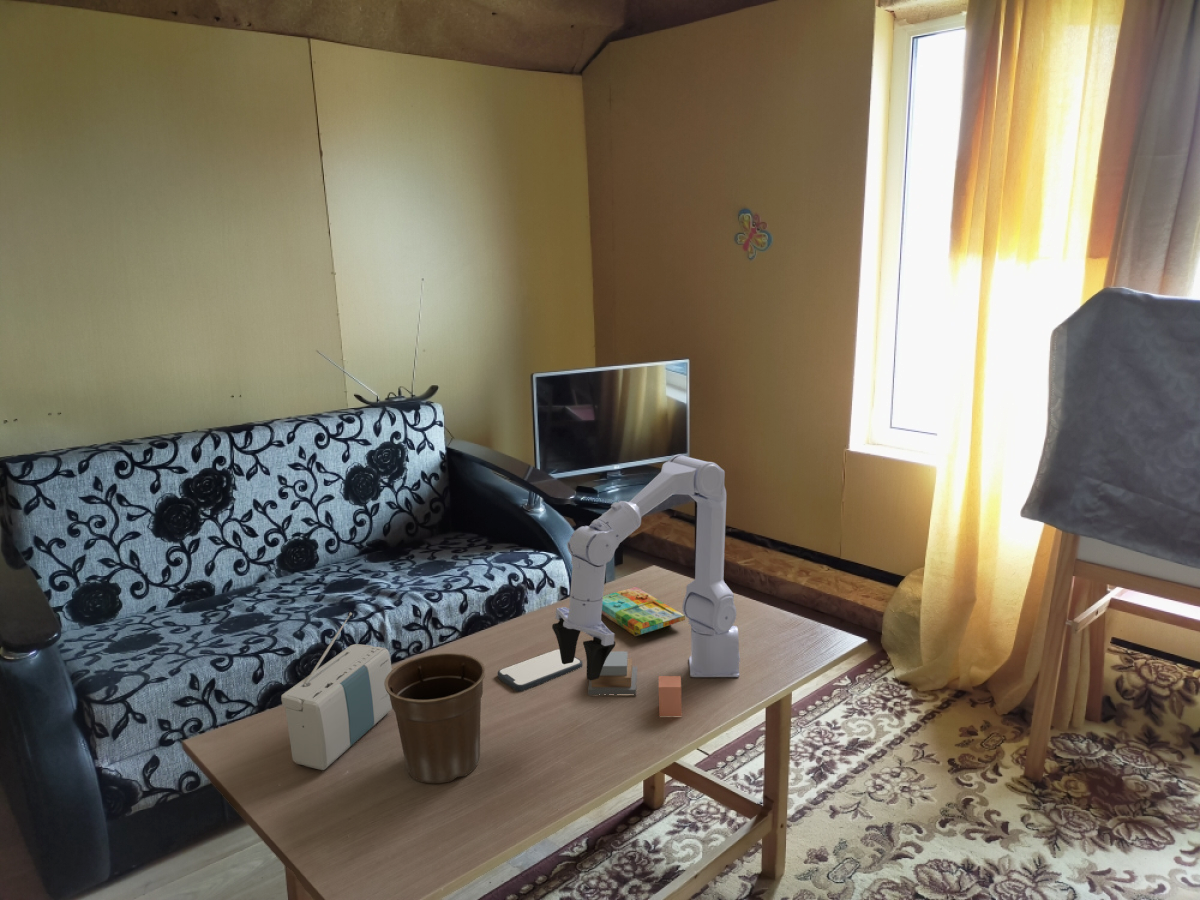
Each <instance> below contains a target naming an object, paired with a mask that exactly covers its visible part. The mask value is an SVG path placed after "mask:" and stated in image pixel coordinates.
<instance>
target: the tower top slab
mask: <svg viewBox="0 0 1200 900" xmlns="http://www.w3.org/2000/svg"><path fill="white" fill-rule="evenodd" d="M628 659H629V657H628V651H621V650H620V651H616V650H615V651H611V652H610V653H609V655H608V657H607V659H606V660H605V663H604V665H603V668H602V670H601V673H600V676H627V664H628Z"/></svg>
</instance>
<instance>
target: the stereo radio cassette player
mask: <svg viewBox="0 0 1200 900" xmlns="http://www.w3.org/2000/svg"><path fill="white" fill-rule="evenodd" d="M352 615H353V613H352V612H349V614H348V616H347V617H346V619H345V621H344V622H343V624H342V625H341V627H340V628H339V629H338V631H337V632H336V633H335V635H334V637H333V638H332V640H331V641H330V643H329V644H328V646H327V648H326V649H325V651H324V652H323V654H322V656H321V657H320V659H319V660H318V662H317V663H316V665H315V666H314V668H313V670H311V673H310V674H309V675H307V676H306V677H305V678H303V679H302V680H301V681H299V682H297V684H295V685H293V687H291V688H289V689H287V690H286V691H285V692H284V693H283V694H281V698H280V699H281V703H282V706H283V708H284V709H285V714H286V715H285V716H286V721H287V728H288V729H287V731H288V736H289V743H290V749H291V755H292V761H293V762H295V763H296V764H298V765H301V766H305V767H308V768H312V769H316V770H319V771H325V770H326V769H327V768H328V767H330V766H331V764H333V763H334V762H335V761H336V760H337V759H338V758H339V757H341V756H342V755H343V754H344V753H345V752H346V751H347V750H348V749H350V747H352V746H353V745H354V744H355V743H356V742H357V741H359V739H360V738H361V739H362V737H363V736H364V735H365V734H366V733H367V732H368V731H370V730H371V729H372V728H373V727H374V726H375V725H376V724H377V723H378V722H380V721H381V720H382V719H383V718H384V717H385V716H386V715H388V714H389V713H390V711H392V710H393V708H392V705H391V700H390V696H389V694H388V693H387V691H386V689H385V685H384V682H385V679H386V677H387V675H388V674H389V673H390V672H391V671H392V670H393V669H392V662H391V655H390V652H389V649H387V648H386V647H381V646H373V645H371V644H360V643H359V644H358V643H355V644H351V645H349V646H348V647H346V648H345V649H343V650H342V651H341V652H340V653H338V654H337V655H336V656H334V657H333V658H330V660H328V661H327V662H326V663H324V664H323V665H321V664H322V662H323V660H324V659H325V658H326V656H327V655H328V653H329V651H330V649H331V648H332V646H333V645H334V644H335V641H336V639H337V638H338V636H339V635H340V633H341V631H342V630H343V628H344V627H345V624H346V623H347V621H348V620H349V618H350V617H351V616H352ZM320 665H321V666H320Z"/></svg>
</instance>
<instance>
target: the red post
mask: <svg viewBox="0 0 1200 900" xmlns="http://www.w3.org/2000/svg"><path fill="white" fill-rule="evenodd" d="M682 707H683V706H682V677H681V675H658V709H659V710H658V712H659V716H683V713H682V712H683V711H682V710H683V708H682Z"/></svg>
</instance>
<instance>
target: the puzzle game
mask: <svg viewBox="0 0 1200 900" xmlns="http://www.w3.org/2000/svg"><path fill="white" fill-rule="evenodd" d="M601 615H603V616H604V617H606V618H607V619H609V620H610V621H611V622H613V623H615V624H617V626H619V627H621V628H623V629H624V630H625V631H626V632H628V633H630V634H632V635H633V636H634V637H638V636H641V635H644V634H647V633H651V632H654V631H657V630H660V629H663V628H666V627H669V626H671V625H675V624H678V623H680V622H684V621H686V616H685V615H684V613H681V612H680V611H678V610H676V609H675V608H673V607H671V606H670V605H667V604H666V603H665V602H662V601H660V600H659V599H658V598H656V597H654V596H653V595H651V594H649V593H648V592H646V591H644V590H642V589H640V588H639V587H637V586H634V587H630V588H626V589H623V590H619V591H616V592H612V593H609V594H605V595H604V594H603V603H602V614H601Z"/></svg>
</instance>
